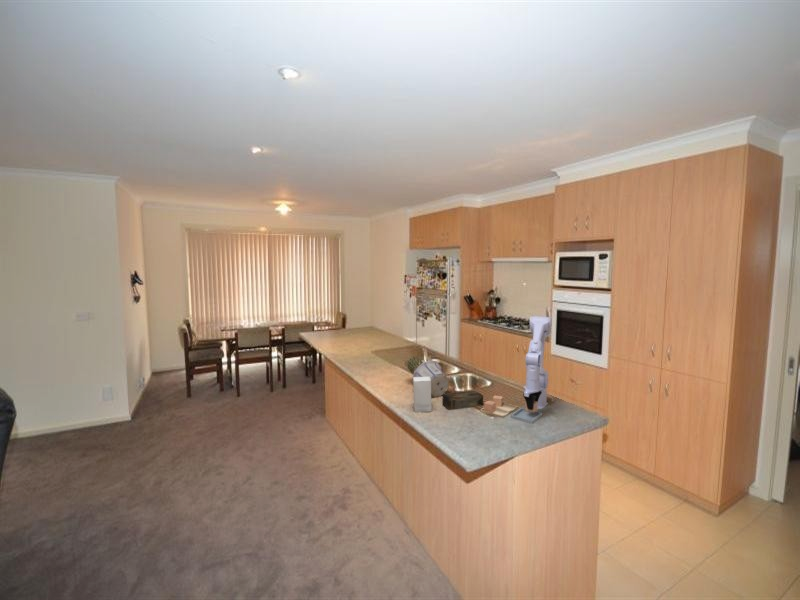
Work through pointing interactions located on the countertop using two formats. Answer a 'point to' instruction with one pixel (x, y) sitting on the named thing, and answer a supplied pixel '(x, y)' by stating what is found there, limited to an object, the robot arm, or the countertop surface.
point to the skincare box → (422, 394)
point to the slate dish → (526, 415)
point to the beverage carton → (462, 400)
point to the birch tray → (502, 410)
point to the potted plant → (430, 374)
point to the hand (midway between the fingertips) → (532, 407)
